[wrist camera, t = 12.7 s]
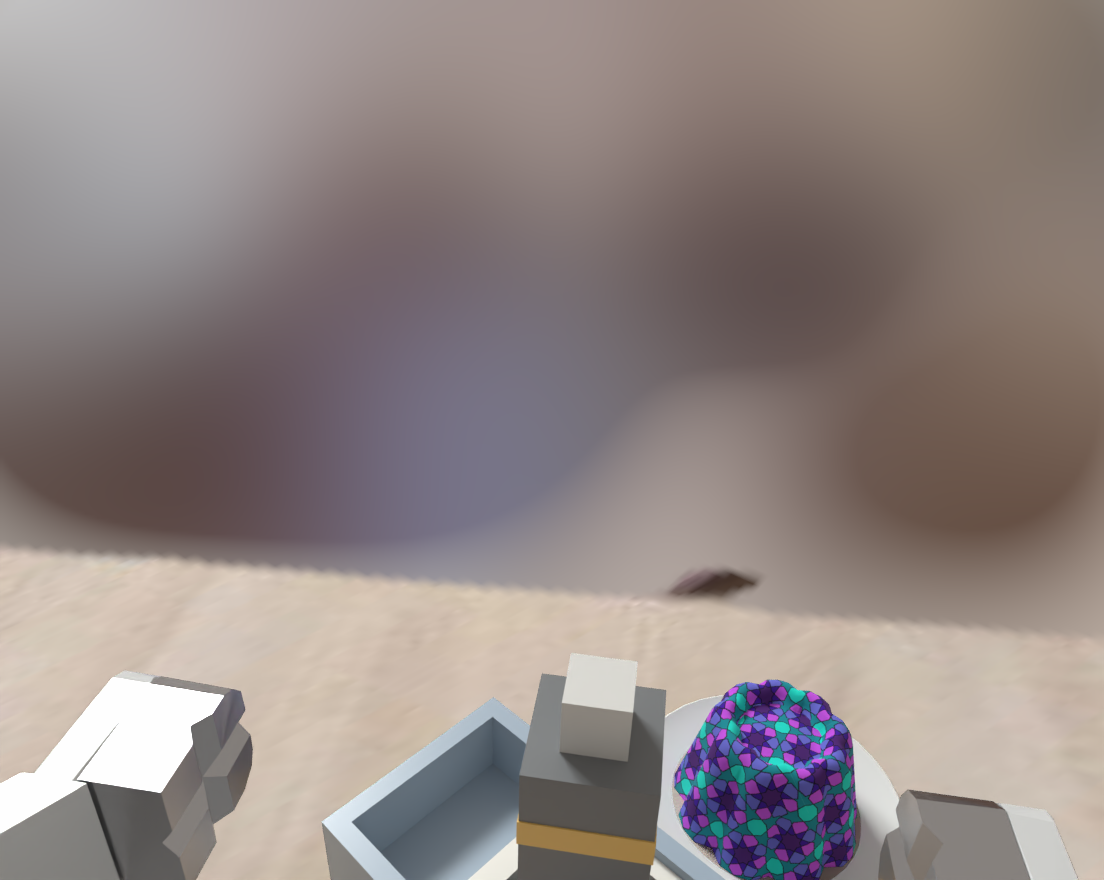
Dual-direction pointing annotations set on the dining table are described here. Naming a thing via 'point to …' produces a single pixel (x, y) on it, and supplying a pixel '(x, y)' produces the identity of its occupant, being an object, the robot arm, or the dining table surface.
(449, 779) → the walled box
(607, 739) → the grey bottle
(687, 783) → the pudding
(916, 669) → the dining table surface
